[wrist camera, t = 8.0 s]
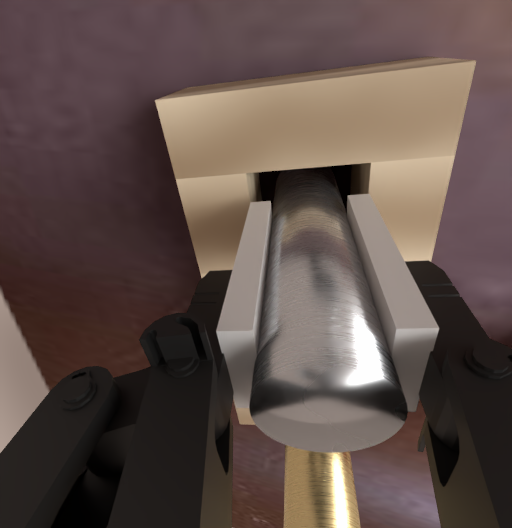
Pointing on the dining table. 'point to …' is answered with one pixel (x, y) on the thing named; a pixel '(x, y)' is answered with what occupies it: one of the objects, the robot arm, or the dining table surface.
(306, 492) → the brass pin
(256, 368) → the steel pin
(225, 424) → the robot arm
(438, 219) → the pin block
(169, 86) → the dining table surface
